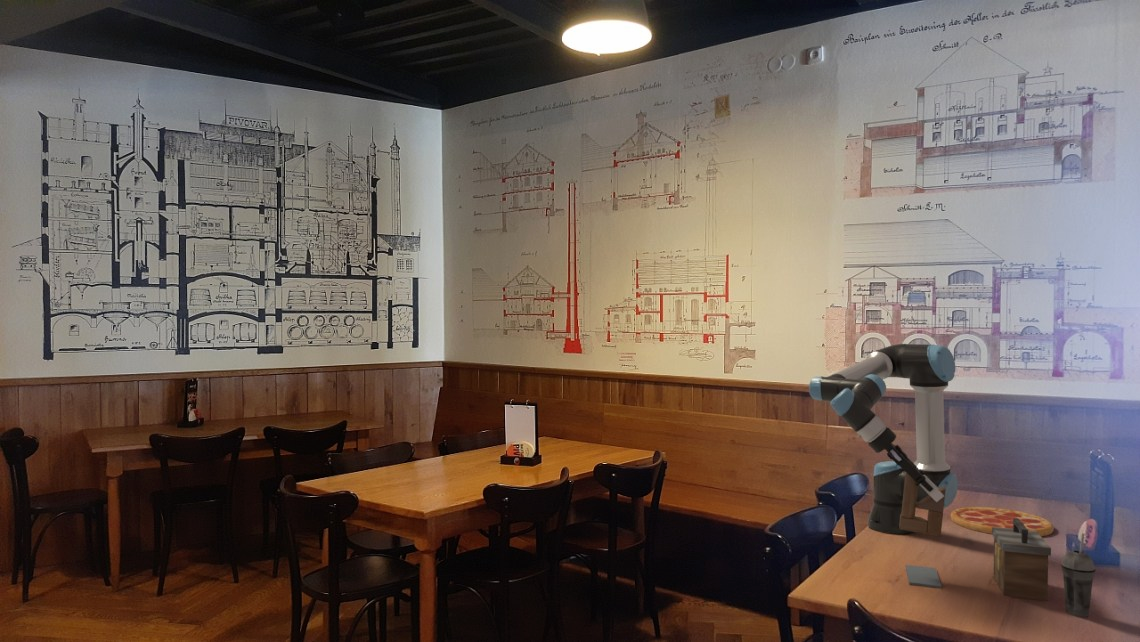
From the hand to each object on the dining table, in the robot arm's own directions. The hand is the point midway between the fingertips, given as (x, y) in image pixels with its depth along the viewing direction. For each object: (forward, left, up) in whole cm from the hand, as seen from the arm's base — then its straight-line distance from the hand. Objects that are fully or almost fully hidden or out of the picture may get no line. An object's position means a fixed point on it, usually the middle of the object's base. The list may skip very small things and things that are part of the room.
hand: (939, 496), depth 216 cm
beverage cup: (+15, +30, -23) cm, 41 cm away
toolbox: (0, +20, -23) cm, 31 cm away
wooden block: (-2, -5, -11) cm, 12 cm away
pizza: (-71, +27, -24) cm, 80 cm away
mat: (0, -4, -23) cm, 23 cm away
